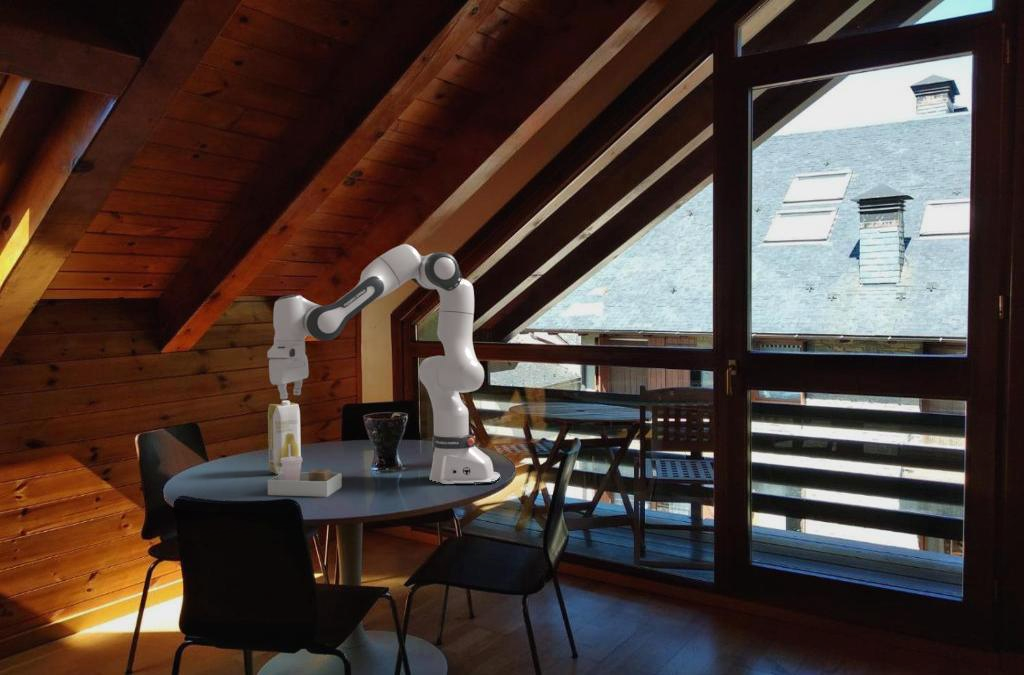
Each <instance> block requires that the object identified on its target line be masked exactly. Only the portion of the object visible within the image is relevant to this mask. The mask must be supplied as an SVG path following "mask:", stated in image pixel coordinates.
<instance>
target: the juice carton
mask: <svg viewBox="0 0 1024 675" xmlns="http://www.w3.org/2000/svg"><path fill="white" fill-rule="evenodd" d="M299 406H300V405H299V404H298V403H295V402H291V401H290V400H287V399H283V400H281V403H278V404H277V403H270V404H269V405H268V412H267V431H268V432H267V435H268V436H267V438H268V465H269V470H270V472H271V473H272V472H273V473H272V474H274V473H275V475H277V474H278V475H279V474H281V473H283V469H282V463H281V458H284V457H289V452H288V444H290V455H291V456H298V457H302V455H301V454H302V452H301V449H302V448H301V447H302V446H301V410H300V407H299Z"/></svg>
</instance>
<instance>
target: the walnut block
mask: <svg viewBox="0 0 1024 675" xmlns="http://www.w3.org/2000/svg"><path fill="white" fill-rule="evenodd" d="M308 472H309V473H308V481H322V482H326V481H328V480H329V479H331V473H332V469H324V468H323V469H322V468H320V469H319V468H315V469H311V471H308Z"/></svg>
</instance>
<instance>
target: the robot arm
mask: <svg viewBox="0 0 1024 675" xmlns="http://www.w3.org/2000/svg"><path fill="white" fill-rule="evenodd" d="M410 280H411V281H413V282H414V283H415V284H417V285H418V286H419V287H420V288H422V289H424V290H430V291H431V290H436V291H437V292H438V296H439V301H440V303H439V309H438V311H439V312H438V321H437V330H436V336H437V338H438V340H439V341H440V342H441V344H442V345H443V350H444V355H434V356H429V357H427V358H425V359H423V360H422V362H420V364H419V367H418V378H419V380H420V382H421V384H423V386H424V387H425V389H426V391H427V393H428V396H429V399H430V402H431V407H432V414H433V434H432V438H431V443H432V444H431V446H432V448H431V449H432V452H433V453H432V454H433V456H432V464H431V468H430V475H429V480H430V481H431V480H432V481H431V482H434V481H436V482H435V483H438V482H440V483H442V484H454V483H474V482H491V481H495V480H497V479H498V478H499V477H500V478H501V474H500V472H497V471H494V465H493V461H492V459H491V458H490V456H489V455H487V454H486V453H485V452H483V451H482V450H480V449H479V447H477V446H475V445H476V436H475V435H472V434H470V428H469V427H470V426H469V423H470V421H469V417H470V416H469V414H470V413H469V409H468V407H467V406H466V405H465V403H464V402H463V400H462V398H461V396H460V393H463V394H464V393H470V392H475V391H477V390H479V389H480V388H481V387H482V386H483V383H484V380H485V370H484V367H483V365H482V364H481V363H480V361H479V360H478V358H477V356H476V353H475V349H474V343H473V332H474V331H473V328H474V314H475V294H474V293H475V291H474V286H473V284H472V283H471V282H470V281H469V280H468V279H465V278H463V275H462V272H461V270H460V267H459V264H458V261H457V260H456V258H455V256H453V255H452V254H449V253H448V252H445V251H444V252H443V251H437V252H433V253H429V254H427V255H421V254H420V253H419V252H418V250H417V249H416V248H414V246H412V245H410V244H406V243H404V244H400V245H398V246H395V247H393V248H391V249H389V250H387V251H386V252H385V253H383V254H381V255H380V256H378V257H376V258H375V259H374V260H372V262H370V263H369V264H368V265H367V266H366V267H365V268H364V269H363V270H362V271H361V274H360V279H359V281H358V283H357V285H356V286H354V287H353V288H352V289H351V290H350V291H349V292H346V294H344V295H343V296H341V297H340V298H339V299H338V300H336V301H335V302H333V303H330V304H325V305H320V304H318V303H315V302H313V301H310V300H308V299H306V298H305V297H303V296H302V295H301V294H291V295H290V294H289V295H285V296H281V297H279V298H278V299H276V301H274V306H273V316H272V317H273V329H274V337H273V344H272V345H271V347H270V348H269V349H268V350H267V351H266V352H267V356H266V357H267V358H268V359H269V360H268V361H269V362H268V371H269V372H268V374H269V381H270V383H271V385H274V386H275V385H276V386H277V390H278V392H279V398H280V400H287V399H288V398H289V392H287V391H288V390H287V384H289V383H292V382H293V383H294V388H293V390H292V391H293V393H292V394H293V395H294V396H299V395H301V394H302V390H301V389H302V386H303V380H304V379H308V377H309V374H310V372H309V371H310V370H309V360H308V356H307V355H306V337H307V336H311V337H312V338H314V339H316V340H318V341H321V342H327V341H332V340H334V339H336V338H337V337H338V336H339V335H341V333H342V331H343V329H344V327H345V326H346V324H347V323H348V321H349V320H350V319H352V318H353V317H354V316H355V315H357V314H358V313H359V312H360V311H362V310H363V309H365V308H366V307H367V306H369V305H370V304H371V303H373V302H375V301H376V300H379V299H381V298H383V297H385V296H388V295H389V294H391V293H392V292H394V291H396V290H398V288H400V287H401V286H402V285H403V284H405V283H407V282H408V281H410ZM440 483H439V484H440ZM442 484H441V485H442Z"/></svg>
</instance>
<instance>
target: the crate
mask: <svg viewBox="0 0 1024 675" xmlns="http://www.w3.org/2000/svg"><path fill="white" fill-rule="evenodd" d="M309 472H310V471H301V472H300V481H286V480H284V476H283V473H281V474H279V475H277V474H276V475H275V476H273V477H272V478H270V479H267V495H268V496H294V497H322V498H324V497H326V498H328V497H330V496H331V495H332V494H334V493H336V492H337V491H338V490H340V489H342V486H343V485H342V484H343V483H342V481H343V480H342V478H343V476H342V472H331V479H329V480H328V481H326V482H322V481H308V473H309Z"/></svg>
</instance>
